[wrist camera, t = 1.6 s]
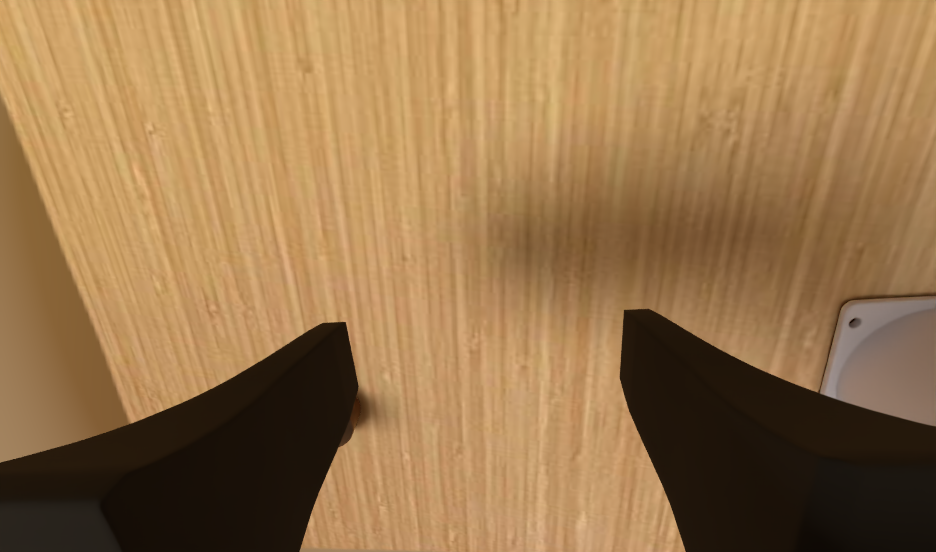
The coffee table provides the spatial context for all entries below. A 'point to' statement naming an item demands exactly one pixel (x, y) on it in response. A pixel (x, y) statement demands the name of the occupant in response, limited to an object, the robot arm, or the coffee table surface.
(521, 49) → the coffee table surface
